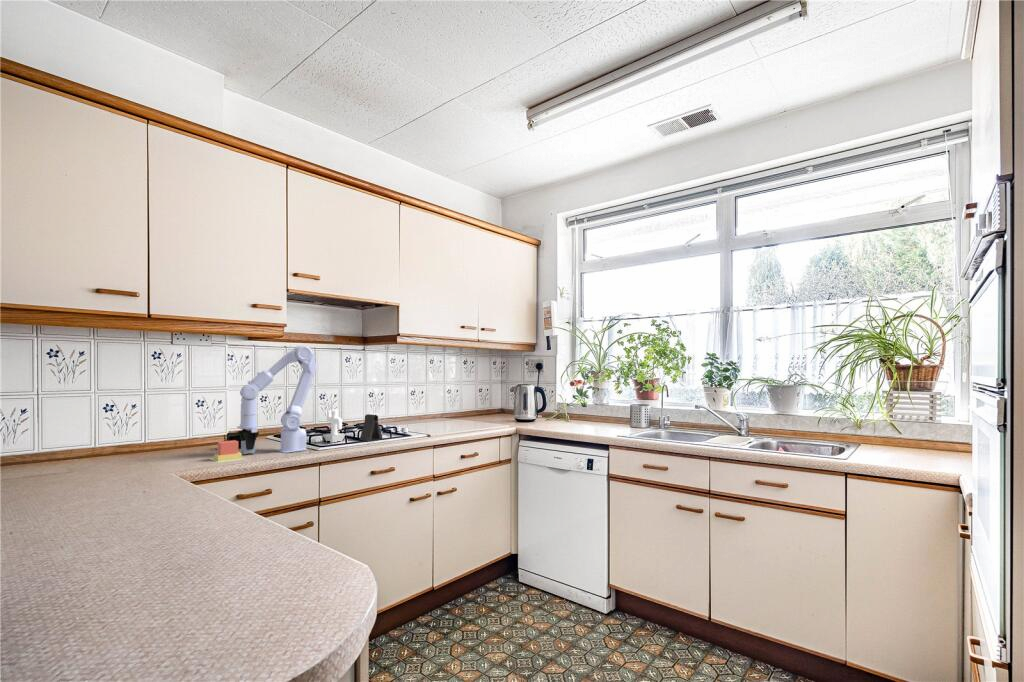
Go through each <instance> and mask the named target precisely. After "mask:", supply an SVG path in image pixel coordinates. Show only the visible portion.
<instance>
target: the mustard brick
mask: <svg viewBox="0 0 1024 682" xmlns="http://www.w3.org/2000/svg"><path fill="white" fill-rule="evenodd" d="M242 455H243V453H241V451H238V453H237V454H229V455H219V454H218V453H214V457H213V458H214V459H215V460H217V461H225V460H233V459H241V458H242Z"/></svg>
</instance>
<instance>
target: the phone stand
mask: <svg viewBox="0 0 1024 682" xmlns="http://www.w3.org/2000/svg"><path fill="white" fill-rule="evenodd" d="M364 415H365V416H364V422H363V427H362V430H361V432H360V436H359V441H360V440H363V441H362V442H366V441H370V442H375V441H374V440H376V441H380V439H382V440H383V435H382V432H381V427H380V424H379V416H378V415H377V414H369V413H367V414H366V413H365V414H364Z"/></svg>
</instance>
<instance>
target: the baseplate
mask: <svg viewBox="0 0 1024 682" xmlns="http://www.w3.org/2000/svg"><path fill="white" fill-rule="evenodd" d="M210 460H211V461H213V462H215V463H218V464H219V463H220V464H221V463H227V462H228V463H229V462H235V461H236V462H237V461H244V460H246V458H245V457H242V458H241V459H233V460H225V461H217V460H215V459H214V457H213V458H210Z"/></svg>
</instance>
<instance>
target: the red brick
mask: <svg viewBox="0 0 1024 682" xmlns="http://www.w3.org/2000/svg"><path fill="white" fill-rule="evenodd" d="M238 452H239V449H238V441H236V440H233V441H227V440H225V441H224V440H223V441H218V442H217V454H219V455H229V454H237V453H238Z"/></svg>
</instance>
